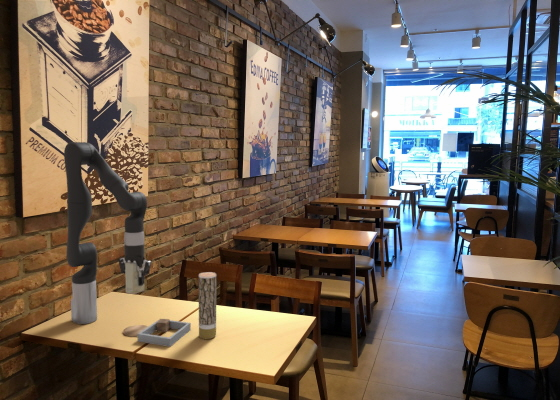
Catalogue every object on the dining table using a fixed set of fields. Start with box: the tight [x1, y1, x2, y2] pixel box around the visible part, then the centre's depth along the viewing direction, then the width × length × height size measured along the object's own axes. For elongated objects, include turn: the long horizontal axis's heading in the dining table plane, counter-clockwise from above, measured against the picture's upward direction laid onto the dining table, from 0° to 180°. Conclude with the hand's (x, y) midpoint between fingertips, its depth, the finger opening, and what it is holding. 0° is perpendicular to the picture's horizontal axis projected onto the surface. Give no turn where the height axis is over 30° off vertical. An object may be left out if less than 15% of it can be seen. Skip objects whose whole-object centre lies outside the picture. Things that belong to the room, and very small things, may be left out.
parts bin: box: [137, 319, 192, 347], centre depth 175 cm, size 14×16×3 cm
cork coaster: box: [122, 324, 149, 337], centre depth 178 cm, size 10×10×1 cm
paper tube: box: [198, 271, 217, 340], centre depth 174 cm, size 7×7×25 cm
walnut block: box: [156, 318, 171, 333], centre depth 180 cm, size 4×4×4 cm
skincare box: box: [124, 263, 145, 295], centre depth 176 cm, size 6×4×12 cm
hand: (135, 284), depth 176 cm, fingers closed on skincare box, 4 cm apart
